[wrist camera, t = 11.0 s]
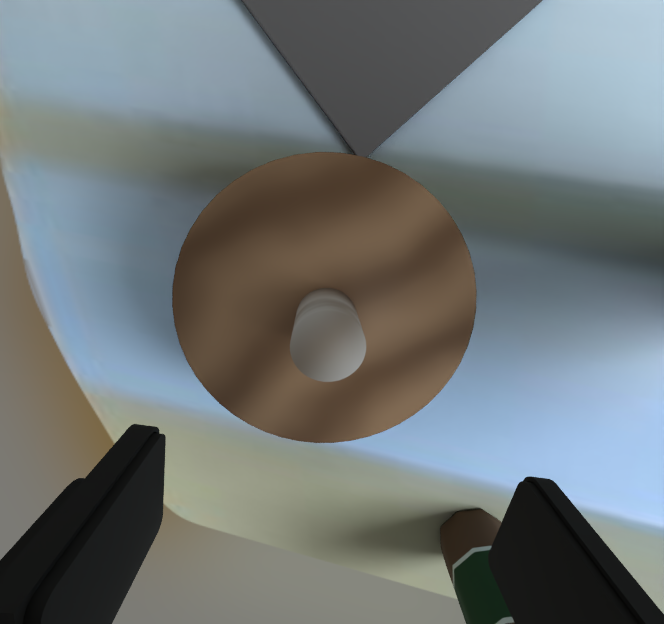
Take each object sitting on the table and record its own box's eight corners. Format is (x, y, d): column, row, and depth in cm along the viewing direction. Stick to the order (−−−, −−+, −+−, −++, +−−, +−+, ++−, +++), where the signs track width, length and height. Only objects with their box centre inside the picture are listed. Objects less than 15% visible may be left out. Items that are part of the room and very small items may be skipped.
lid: (521, 326, 25) (585, 365, 19) (312, 474, 28) (309, 547, 22) (346, 76, 19) (357, 21, 14) (116, 296, 23) (46, 328, 17)
